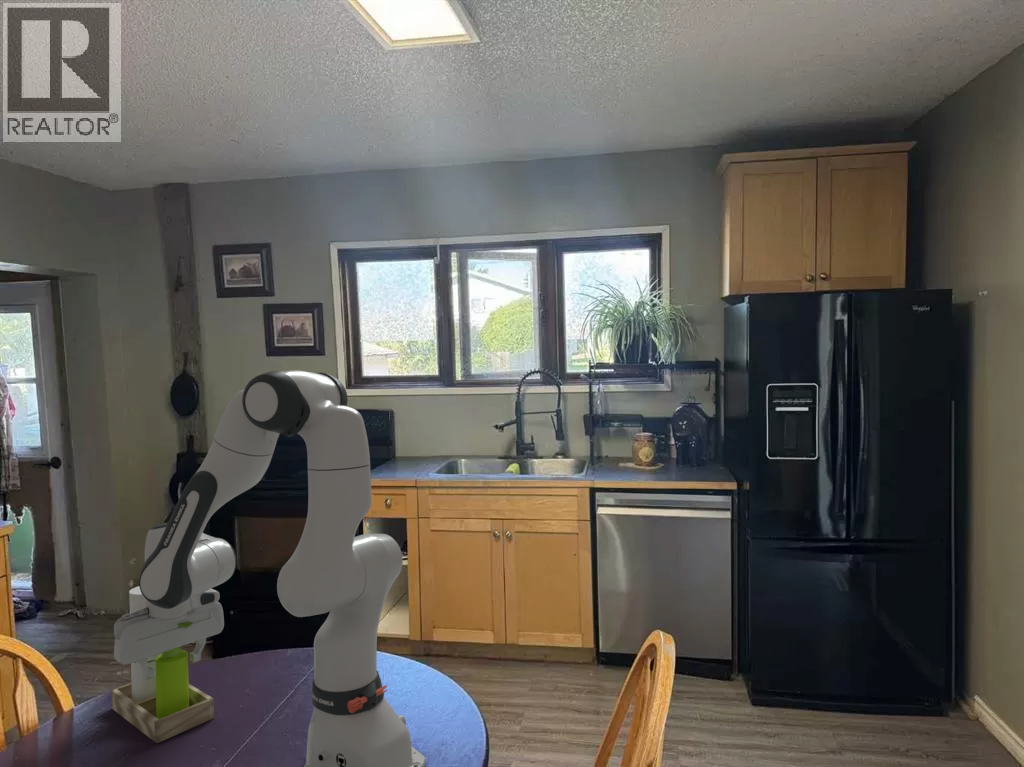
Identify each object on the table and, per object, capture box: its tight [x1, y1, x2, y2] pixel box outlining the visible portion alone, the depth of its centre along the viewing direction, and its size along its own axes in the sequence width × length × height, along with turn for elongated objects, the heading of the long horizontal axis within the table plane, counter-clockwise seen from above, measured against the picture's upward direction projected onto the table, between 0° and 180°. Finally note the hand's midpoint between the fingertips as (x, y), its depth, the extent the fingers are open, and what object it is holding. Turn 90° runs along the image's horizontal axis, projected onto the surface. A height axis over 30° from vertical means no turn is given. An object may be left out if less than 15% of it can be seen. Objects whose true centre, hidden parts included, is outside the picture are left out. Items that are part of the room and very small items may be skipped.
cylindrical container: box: [128, 585, 162, 703], centre depth 135 cm, size 7×7×25 cm
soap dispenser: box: [155, 622, 193, 719], centre depth 129 cm, size 6×7×20 cm
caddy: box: [110, 682, 215, 744], centre depth 132 cm, size 21×11×4 cm, turn 52°
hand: (172, 669), depth 129 cm, fingers open, 8 cm apart
